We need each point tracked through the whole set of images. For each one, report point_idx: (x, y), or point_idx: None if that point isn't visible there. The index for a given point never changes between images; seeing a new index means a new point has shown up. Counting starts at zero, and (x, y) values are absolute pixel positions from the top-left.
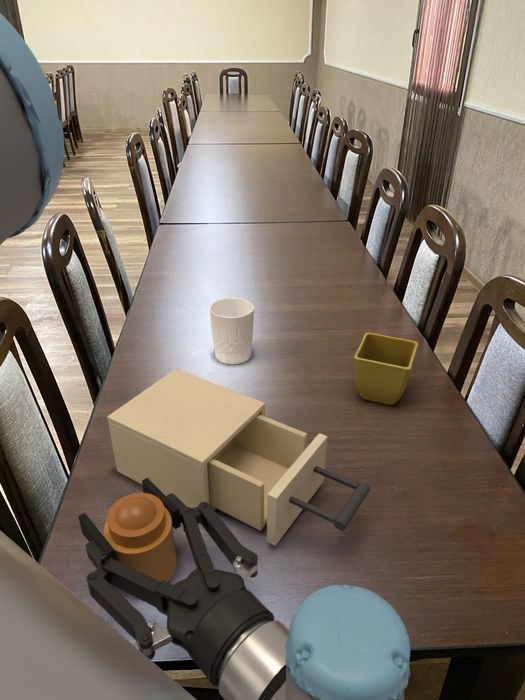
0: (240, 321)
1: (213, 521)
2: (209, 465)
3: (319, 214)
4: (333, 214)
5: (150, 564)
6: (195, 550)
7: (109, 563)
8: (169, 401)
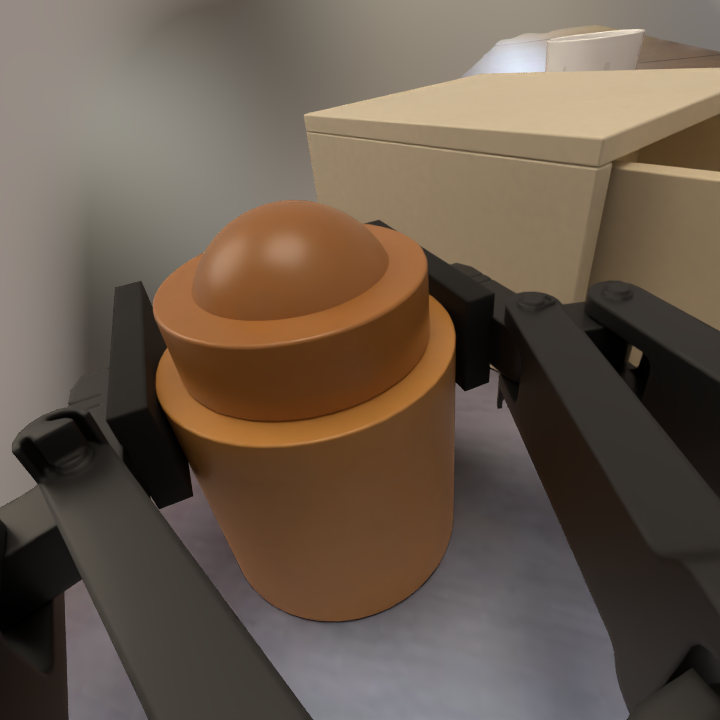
0: (616, 48)
1: (703, 354)
2: (614, 185)
3: (684, 54)
4: (707, 52)
5: (334, 517)
6: (630, 502)
7: (81, 472)
8: (465, 92)
